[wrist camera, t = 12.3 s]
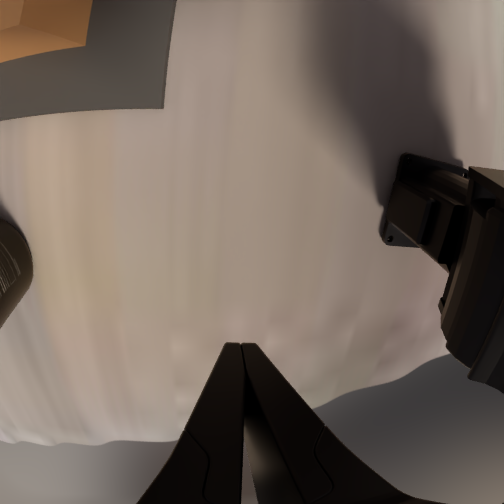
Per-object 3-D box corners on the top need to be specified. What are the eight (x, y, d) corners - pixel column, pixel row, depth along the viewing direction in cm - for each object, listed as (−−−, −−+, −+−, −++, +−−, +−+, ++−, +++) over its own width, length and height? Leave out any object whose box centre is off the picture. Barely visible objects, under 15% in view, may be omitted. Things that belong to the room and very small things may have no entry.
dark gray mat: (195, -88, 10) (194, -96, 9) (163, 108, 16) (160, 108, 15) (-13, -41, 8) (-19, -44, 7) (-40, 128, 14) (-48, 130, 13)
